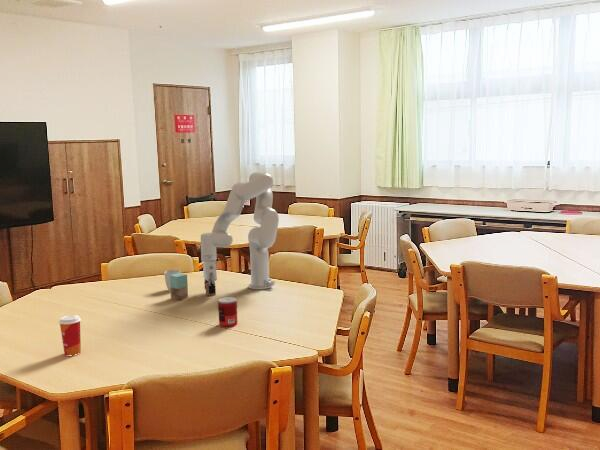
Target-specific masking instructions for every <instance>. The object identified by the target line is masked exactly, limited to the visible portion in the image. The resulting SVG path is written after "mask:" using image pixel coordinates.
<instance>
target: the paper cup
mask: <svg viewBox="0 0 600 450" xmlns="http://www.w3.org/2000/svg"><path fill="white" fill-rule="evenodd" d="M81 320H82V318H81V317H80V315H78V314H72V315H65V316H62V317H60V318H59V321H58V324H59V326H60V334H61V339H62V347H63V351H64V356H65V355H75V354H78V353H80V354H81ZM78 355H79V354H78Z"/></svg>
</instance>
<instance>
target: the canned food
mask: <svg viewBox="0 0 600 450" xmlns="http://www.w3.org/2000/svg"><path fill="white" fill-rule="evenodd" d="M217 309H218V324H219V326H220V327H222V328H232V327H236V325H238V300H237V297H234V296H226V297H221V298H219V299H218V300H217Z"/></svg>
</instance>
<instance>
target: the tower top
mask: <svg viewBox="0 0 600 450" xmlns="http://www.w3.org/2000/svg"><path fill="white" fill-rule="evenodd" d="M170 287H172V288H176V289H180V288H184V287H188V274H186V273H181V272H180V273H178V274H173V275H170Z"/></svg>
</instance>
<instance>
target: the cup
mask: <svg viewBox="0 0 600 450" xmlns="http://www.w3.org/2000/svg"><path fill="white" fill-rule="evenodd" d="M163 273H164V274H163V275H164V280H165V286H166V288H167V290H168V292H171V287H170V275H173V274H178V273H181V270H179V269H169V270H165V271H164V272H163Z"/></svg>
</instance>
